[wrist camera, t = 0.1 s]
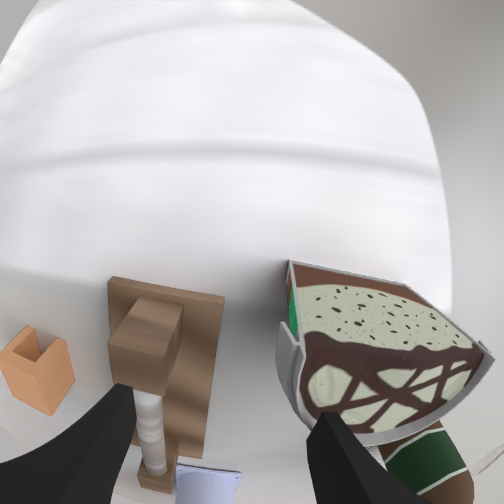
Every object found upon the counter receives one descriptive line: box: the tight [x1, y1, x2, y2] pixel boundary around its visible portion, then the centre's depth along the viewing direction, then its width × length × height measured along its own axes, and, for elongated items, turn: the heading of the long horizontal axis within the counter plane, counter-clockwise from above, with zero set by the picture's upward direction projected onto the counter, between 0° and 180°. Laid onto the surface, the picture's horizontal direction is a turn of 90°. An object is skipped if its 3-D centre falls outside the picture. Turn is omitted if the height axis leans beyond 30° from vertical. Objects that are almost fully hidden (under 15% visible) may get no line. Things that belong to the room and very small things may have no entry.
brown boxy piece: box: [108, 276, 224, 494], centre depth 18 cm, size 20×8×6 cm, turn 170°
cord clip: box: [0, 326, 75, 417], centre depth 18 cm, size 5×5×6 cm
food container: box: [276, 260, 495, 447], centre depth 14 cm, size 12×6×10 cm, turn 77°
